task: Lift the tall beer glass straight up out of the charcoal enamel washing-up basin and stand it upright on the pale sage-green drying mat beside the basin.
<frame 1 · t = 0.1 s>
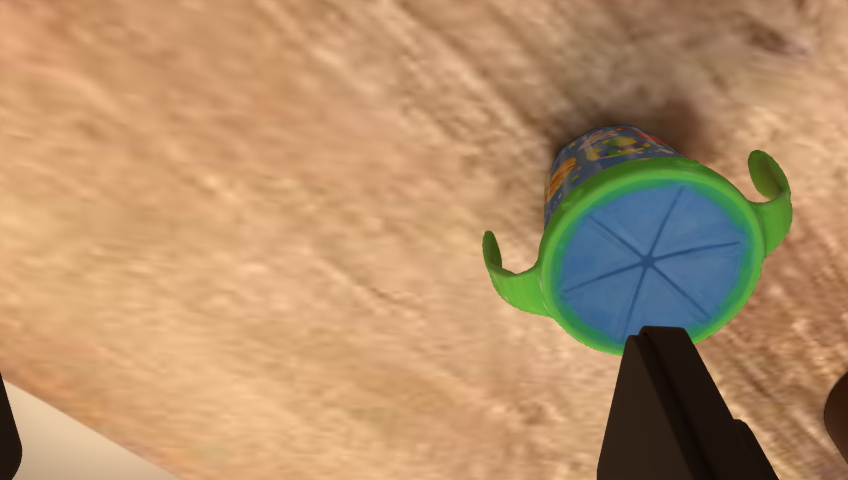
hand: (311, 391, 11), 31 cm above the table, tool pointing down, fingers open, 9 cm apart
snack cup: (605, 180, 43), on the table
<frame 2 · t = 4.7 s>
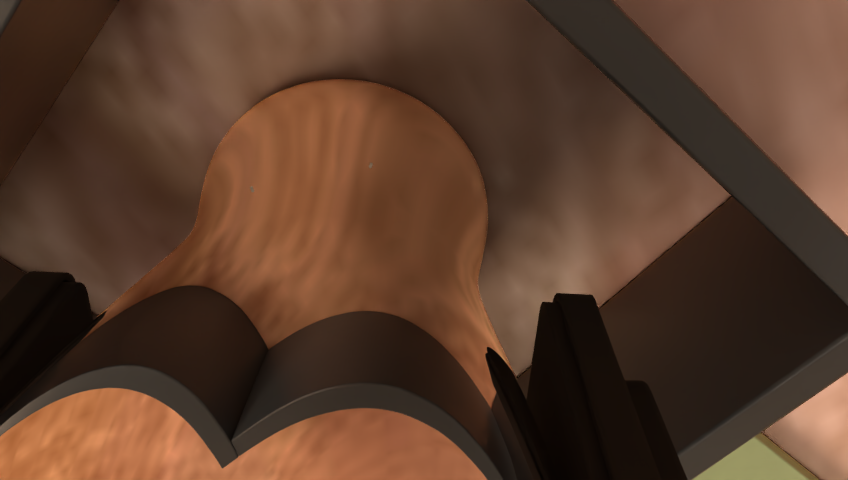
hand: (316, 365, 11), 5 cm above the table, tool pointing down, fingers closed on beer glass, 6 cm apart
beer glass: (348, 209, 16), resting in basin, touching gripper
basin: (347, 212, 16), on the table
when the fingers open (6 cm above the table, at t = 12.2 s): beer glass stays where it is, resting on drying mat.
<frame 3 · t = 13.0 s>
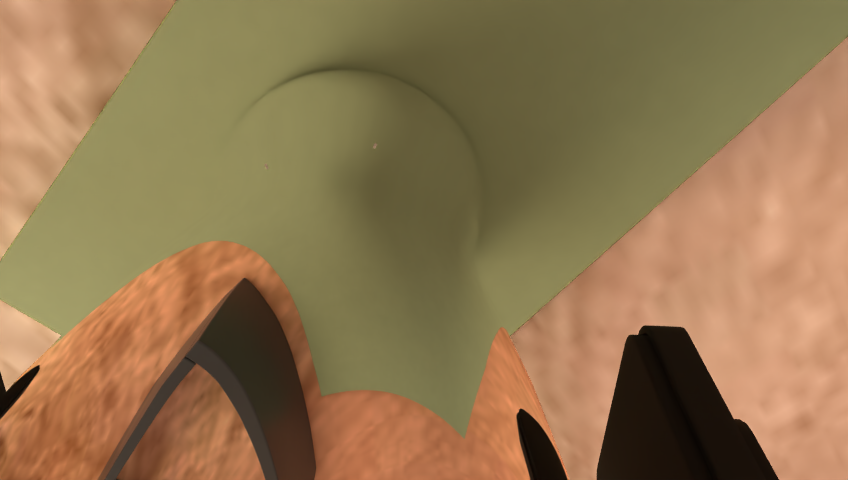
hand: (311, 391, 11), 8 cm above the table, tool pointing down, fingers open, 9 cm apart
drying mat: (408, 129, 17), on the table
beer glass: (352, 193, 17), resting on drying mat
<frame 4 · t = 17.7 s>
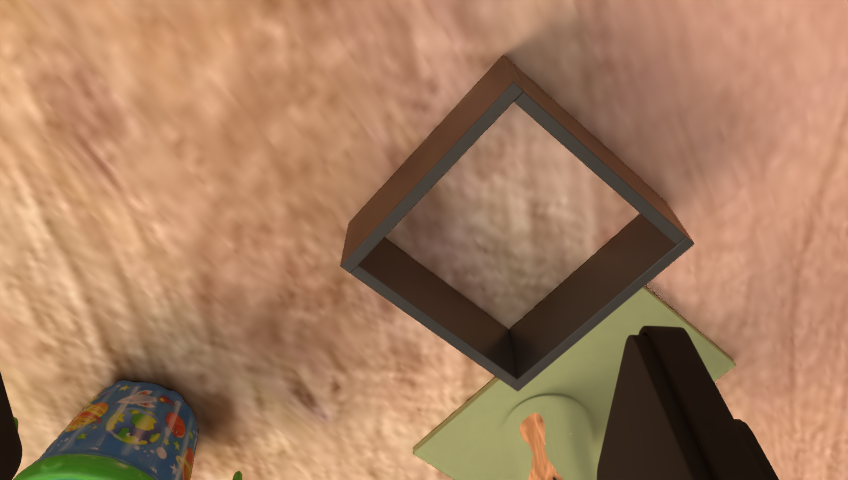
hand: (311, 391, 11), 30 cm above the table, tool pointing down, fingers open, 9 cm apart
drying mat: (566, 405, 50), on the table
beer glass: (547, 425, 51), resting on drying mat
basin: (506, 213, 43), on the table
snack cup: (147, 415, 51), on the table
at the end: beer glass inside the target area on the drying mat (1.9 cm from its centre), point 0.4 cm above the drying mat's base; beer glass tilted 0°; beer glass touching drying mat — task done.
